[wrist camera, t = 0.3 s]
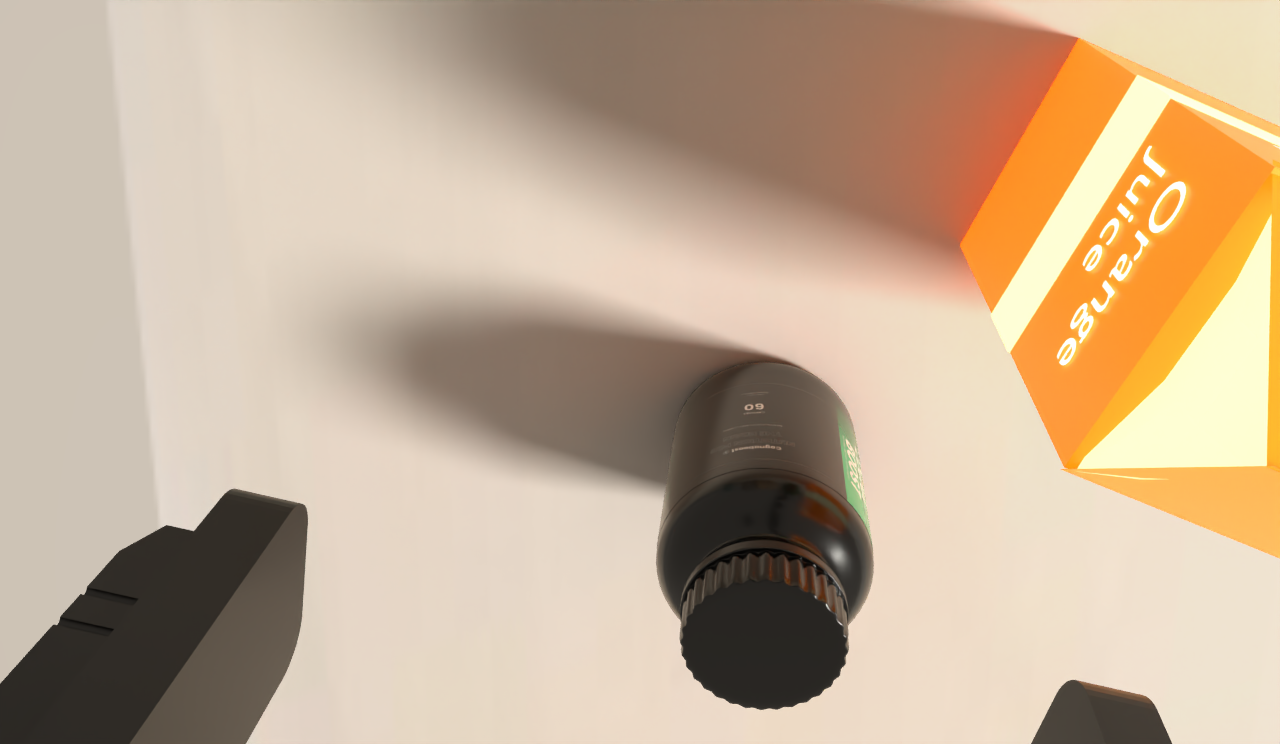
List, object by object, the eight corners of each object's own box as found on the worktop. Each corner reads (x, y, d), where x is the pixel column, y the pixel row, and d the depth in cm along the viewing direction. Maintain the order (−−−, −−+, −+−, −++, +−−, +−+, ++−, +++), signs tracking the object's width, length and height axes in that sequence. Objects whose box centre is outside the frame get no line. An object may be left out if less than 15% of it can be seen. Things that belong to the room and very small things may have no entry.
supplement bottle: (869, 367, 39) (908, 565, 29) (838, 520, 42) (863, 751, 32) (683, 345, 40) (654, 534, 29) (667, 499, 43) (634, 720, 32)
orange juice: (1079, 32, 34) (1433, 259, 16) (1326, 142, 34) (1933, 477, 16) (954, 249, 37) (1129, 634, 19) (1181, 344, 38) (1551, 801, 20)
